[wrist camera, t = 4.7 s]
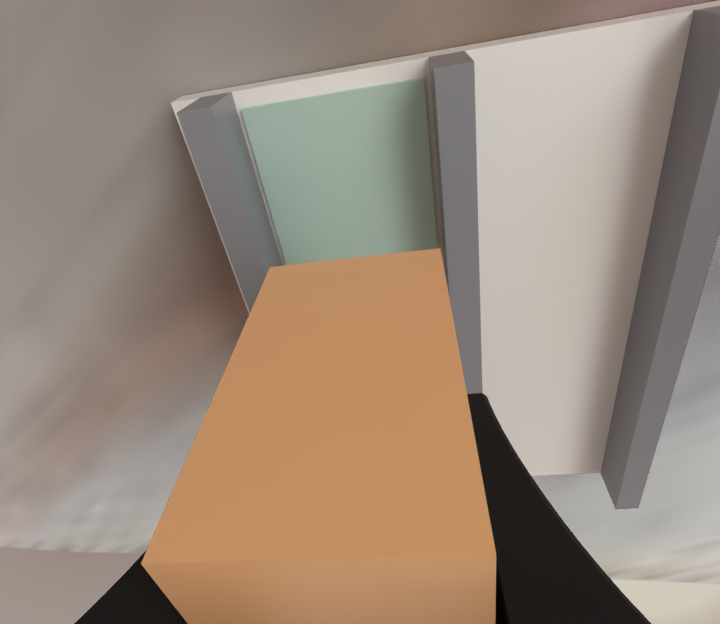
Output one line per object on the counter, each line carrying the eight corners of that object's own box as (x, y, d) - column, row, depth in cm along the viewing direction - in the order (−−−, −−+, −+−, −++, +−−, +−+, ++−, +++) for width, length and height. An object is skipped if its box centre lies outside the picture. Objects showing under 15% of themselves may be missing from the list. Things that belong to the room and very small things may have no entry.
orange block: (440, 248, 11) (496, 554, 5) (452, 429, 14) (493, 738, 8) (269, 266, 11) (140, 563, 5) (320, 437, 15) (273, 733, 9)
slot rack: (753, -7, 13) (835, -2, 11) (634, 454, 24) (661, 507, 22) (182, 96, 16) (142, 118, 13) (315, 471, 27) (307, 521, 24)
